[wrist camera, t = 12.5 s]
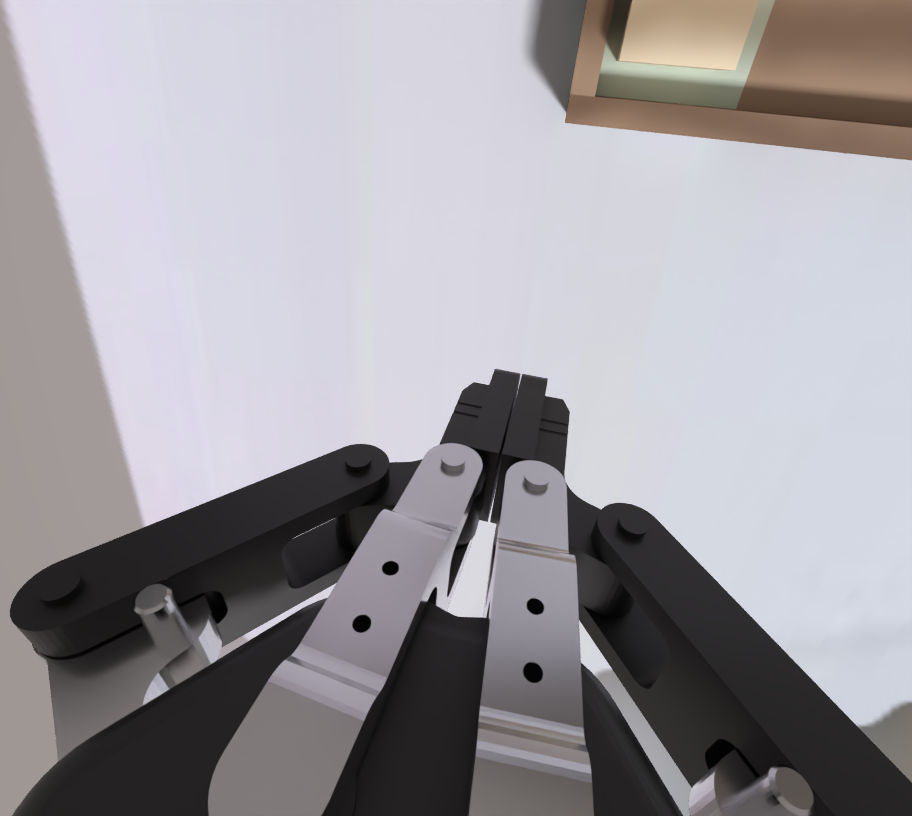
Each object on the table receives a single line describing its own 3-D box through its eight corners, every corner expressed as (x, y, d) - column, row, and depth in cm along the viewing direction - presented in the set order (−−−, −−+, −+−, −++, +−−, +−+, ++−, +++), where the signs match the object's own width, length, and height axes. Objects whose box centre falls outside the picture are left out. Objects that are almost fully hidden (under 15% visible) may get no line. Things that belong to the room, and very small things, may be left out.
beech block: (641, -51, 26) (647, -68, 23) (757, -45, 25) (780, -62, 22) (617, 61, 29) (619, 60, 26) (720, 70, 28) (735, 70, 25)
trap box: (614, -133, 27) (617, -168, 23) (1324, -115, 22) (1485, -156, 18) (568, 116, 34) (564, 122, 30) (1096, 172, 29) (1174, 188, 25)
